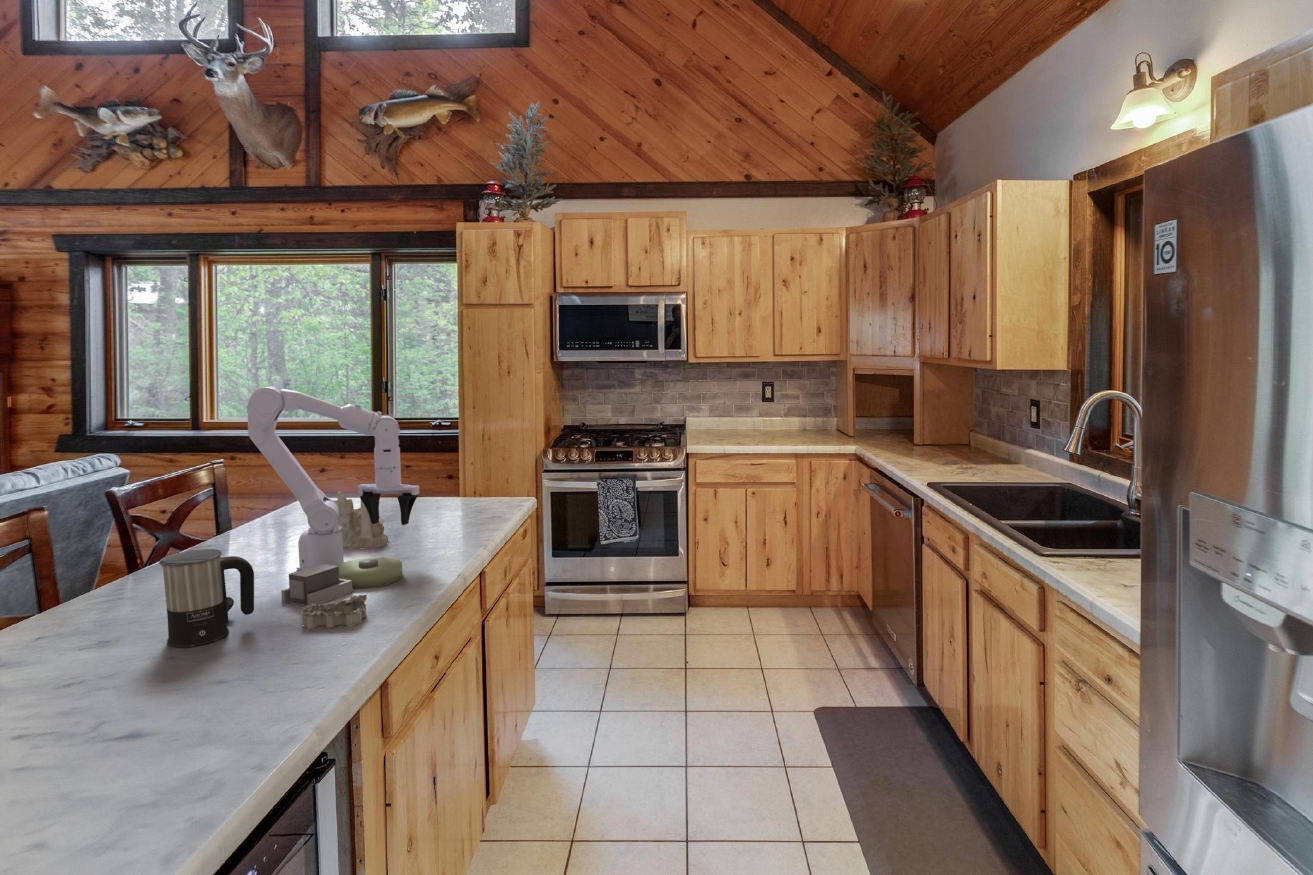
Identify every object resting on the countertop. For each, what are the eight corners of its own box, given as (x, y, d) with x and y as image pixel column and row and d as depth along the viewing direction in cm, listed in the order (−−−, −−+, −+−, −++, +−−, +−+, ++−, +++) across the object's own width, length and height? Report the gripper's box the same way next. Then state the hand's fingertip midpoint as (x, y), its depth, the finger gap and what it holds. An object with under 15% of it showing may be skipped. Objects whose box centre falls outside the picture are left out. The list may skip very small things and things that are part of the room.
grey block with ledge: (305, 606, 143) (304, 577, 143) (288, 603, 145) (286, 574, 145) (340, 594, 151) (338, 566, 150) (323, 591, 153) (321, 563, 152)
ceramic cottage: (380, 548, 186) (377, 490, 185) (315, 551, 186) (312, 493, 185) (400, 537, 202) (397, 483, 201) (340, 540, 201) (337, 486, 201)
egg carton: (370, 614, 140) (369, 593, 139) (357, 628, 132) (357, 607, 132) (313, 615, 139) (312, 594, 138) (297, 630, 131) (296, 608, 131)
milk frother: (182, 652, 121) (175, 566, 119) (137, 634, 129) (131, 552, 128) (266, 626, 133) (261, 547, 131) (220, 610, 141) (215, 535, 140)
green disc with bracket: (271, 600, 147) (270, 580, 146) (369, 566, 170) (368, 550, 170) (321, 609, 141) (320, 589, 141) (415, 573, 165) (415, 556, 164)
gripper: (349, 469, 169) (352, 526, 170) (408, 470, 166) (410, 528, 168) (366, 464, 176) (369, 519, 177) (422, 465, 173) (424, 521, 175)
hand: (390, 523), depth 173 cm, fingers open, 7 cm apart
